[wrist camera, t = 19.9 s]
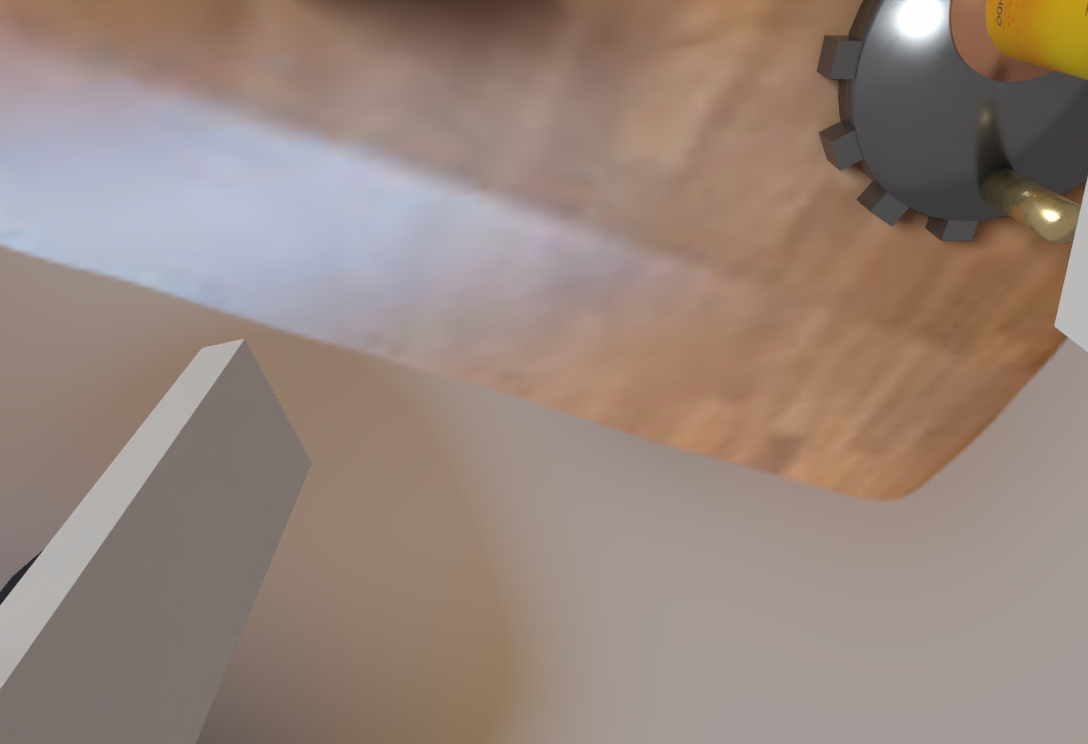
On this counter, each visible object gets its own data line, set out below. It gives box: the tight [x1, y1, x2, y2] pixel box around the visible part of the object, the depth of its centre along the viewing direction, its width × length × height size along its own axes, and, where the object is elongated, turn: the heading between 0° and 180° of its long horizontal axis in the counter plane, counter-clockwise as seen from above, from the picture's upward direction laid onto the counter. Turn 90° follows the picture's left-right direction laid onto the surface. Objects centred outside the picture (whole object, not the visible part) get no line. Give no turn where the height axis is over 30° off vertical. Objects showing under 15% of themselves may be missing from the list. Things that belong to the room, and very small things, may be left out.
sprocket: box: [817, 0, 1088, 244], centre depth 33 cm, size 20×20×8 cm
